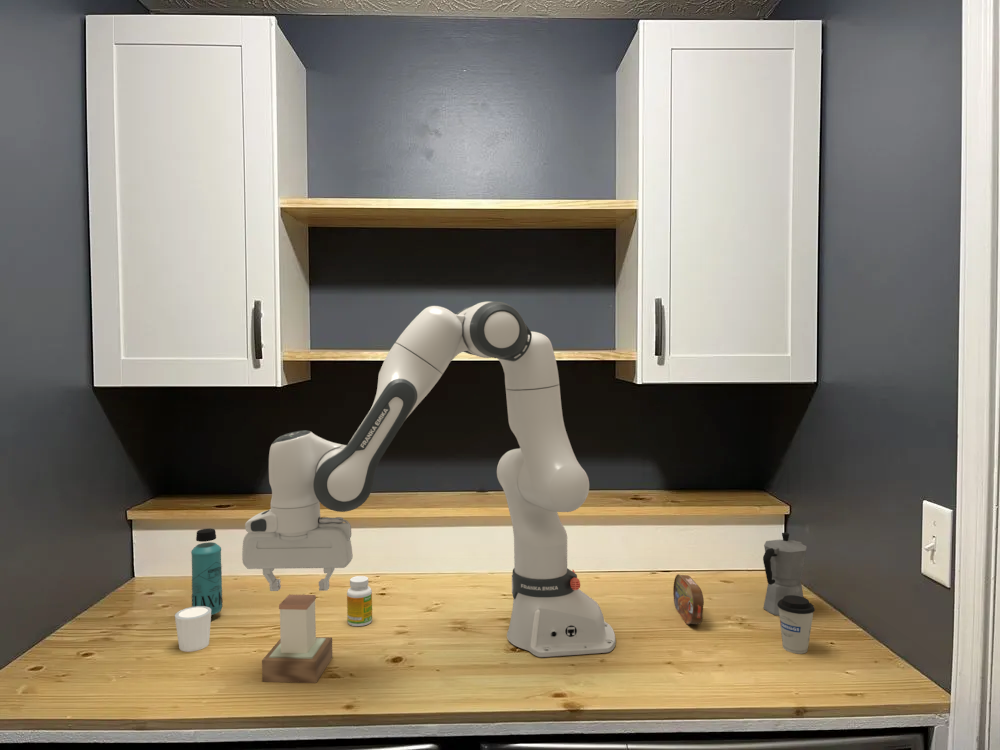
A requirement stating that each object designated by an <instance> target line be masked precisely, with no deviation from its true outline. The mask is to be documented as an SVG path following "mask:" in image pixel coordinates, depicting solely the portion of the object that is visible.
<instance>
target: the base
mask: <svg viewBox="0 0 1000 750" xmlns="http://www.w3.org/2000/svg"><path fill="white" fill-rule="evenodd" d="M333 655H334V653H333V637H326V636H324V637H323V636H321V637H320V636H316V642H315V643H314V645H313V646H312V647H311V649H310V650H309V651H308V653H281V639H278V641H277V642H276V643H275V644H274V646H273V647H272V648H271V649H270V650H269V651H268V652H267V654H266V655H265V656H264V657H263V658H262V660H261V674H262V676H261V677H262V680H261V682H262V683H265V682H266V683H299V684H300V683H311V684H316V683H317V682H318V680H319V679H320V678H321V676H322V675H323V673H324V671H325V670H326V668H327V667H328V665H329V664H330V662H331V661H332V659H333Z"/></svg>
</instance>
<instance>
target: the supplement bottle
mask: <svg viewBox="0 0 1000 750" xmlns="http://www.w3.org/2000/svg"><path fill="white" fill-rule="evenodd" d="M349 586H350V587H349V588H348V589H347V591H346V592H347V593H346V603H347V604H346V608H347V609H346V611H347V612H346V614H347V615H346V616H347V624H348V625H350V626H352V627H364V626H366V625H367V626H368V625H369V624H371V623H372V621H373V591H372V588H371V586H369V577H368V576H365V575H356V576H353V577H351V578H350V579H349Z"/></svg>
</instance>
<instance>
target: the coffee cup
mask: <svg viewBox="0 0 1000 750" xmlns="http://www.w3.org/2000/svg"><path fill="white" fill-rule="evenodd" d="M777 606H778V607H779V616H778V617H779V623H780V633H781V634H780V635H781V640H782V641H781V642H782V648H783V650H785V651H786V652H789V653H793V654H798V655H799V654H802V655H803V654H806V653H807V652H808V650H809V643H810V638H811V637H810V636H811V631H812V623H813V618H814V617H813V616H814V612H815V611H816V609H815V606H814V605H813V604H812V603H811V602H810V601H809V599H808V598H806V597H804V596H803V597H800V596H795V595H788V596H784V598H783V599H781V600H779V601H778V603H777Z"/></svg>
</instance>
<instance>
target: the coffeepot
mask: <svg viewBox="0 0 1000 750" xmlns="http://www.w3.org/2000/svg"><path fill="white" fill-rule="evenodd" d="M781 536H782V539H773V540H766V541H765V542H764V545H763V546H764V554H763V558H762V561H763V566H764V567H763V568H764V570H765V577H766V581H767V587H766V593H765V597H764V598H765V599H764V602H763V609H764V610H765V611H766V612H768V613H769V614H771V615H774V616H776V617H780V616H779V607H778V606H777V603H778V601H779V600H781V599H783V598H784V596H788V595H795V596H800V597H804V593H803V587H802V586H803V585H802V580H801V579H802V575H803V571H804V566H805V565H804V564H805V560H806V553H807V548H808V546H807V545H804V544H803V542H802V541H798V540H789V537H790V533H788V532H786V531H785V532H781Z"/></svg>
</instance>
